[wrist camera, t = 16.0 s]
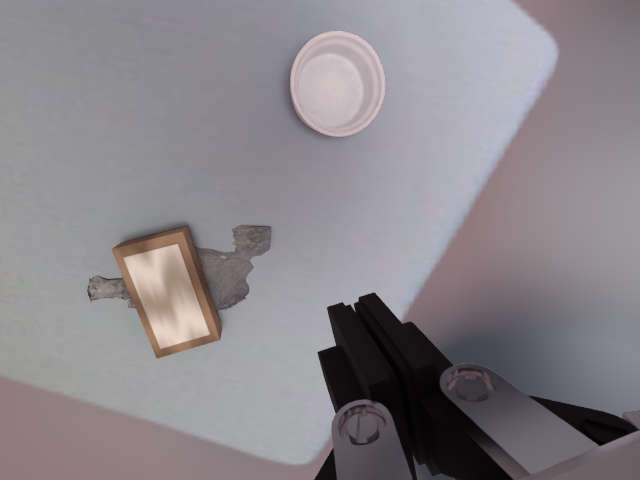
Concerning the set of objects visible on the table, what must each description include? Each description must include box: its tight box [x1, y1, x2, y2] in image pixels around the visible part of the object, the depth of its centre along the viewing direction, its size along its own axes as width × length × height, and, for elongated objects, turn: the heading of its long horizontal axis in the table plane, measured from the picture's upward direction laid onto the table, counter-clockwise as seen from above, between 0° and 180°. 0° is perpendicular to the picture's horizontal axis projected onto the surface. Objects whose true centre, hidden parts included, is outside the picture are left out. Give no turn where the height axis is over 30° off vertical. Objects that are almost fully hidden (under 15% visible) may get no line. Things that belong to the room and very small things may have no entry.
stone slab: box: [88, 225, 271, 310], centre depth 36 cm, size 18×2×10 cm
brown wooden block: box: [112, 226, 222, 358], centre depth 35 cm, size 12×3×6 cm
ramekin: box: [290, 31, 385, 137], centre depth 33 cm, size 9×9×4 cm
